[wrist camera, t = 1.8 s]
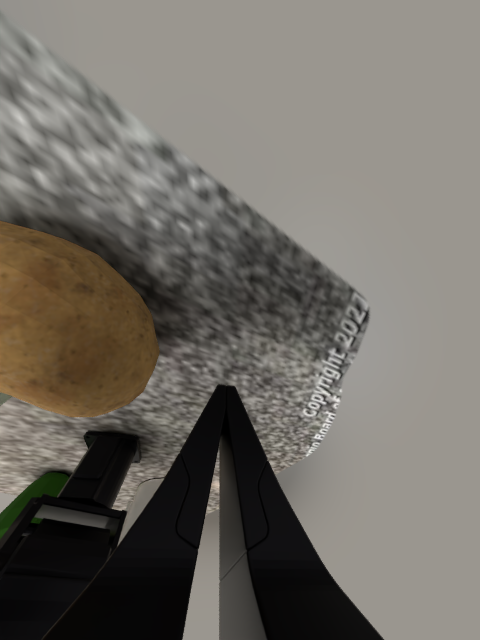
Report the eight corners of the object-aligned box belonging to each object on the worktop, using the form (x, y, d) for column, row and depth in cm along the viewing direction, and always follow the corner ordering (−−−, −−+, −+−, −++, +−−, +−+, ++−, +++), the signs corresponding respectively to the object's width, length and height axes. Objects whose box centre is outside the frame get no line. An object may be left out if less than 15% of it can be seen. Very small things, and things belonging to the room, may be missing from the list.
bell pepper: (86, 469, 28) (18, 582, 19) (90, 490, 32) (35, 592, 23) (25, 463, 27) (-78, 580, 18) (37, 485, 30) (-43, 592, 22)
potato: (3, 150, 10) (-547, -18, 3) (202, 306, 15) (172, 383, 8) (-28, 276, 13) (-321, 336, 6) (143, 370, 18) (85, 463, 11)
